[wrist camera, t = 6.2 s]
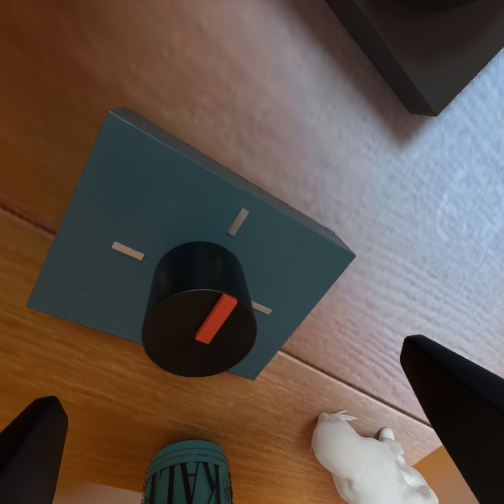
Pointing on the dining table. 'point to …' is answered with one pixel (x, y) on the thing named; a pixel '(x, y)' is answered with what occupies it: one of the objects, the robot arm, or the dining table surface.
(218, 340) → the dial
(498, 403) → the robot arm
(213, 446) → the beverage bottle
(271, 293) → the dial console
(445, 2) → the button base
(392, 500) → the white lumpy figure
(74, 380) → the dining table surface
